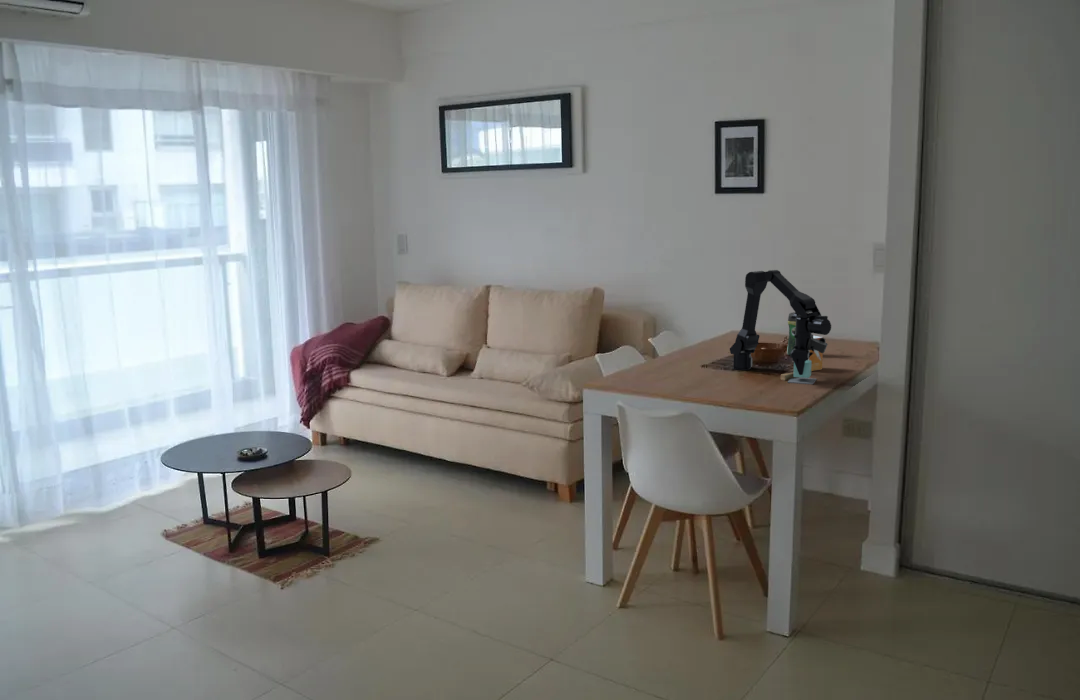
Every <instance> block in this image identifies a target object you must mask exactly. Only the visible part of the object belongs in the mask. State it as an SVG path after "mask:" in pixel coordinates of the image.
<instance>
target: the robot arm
mask: <svg viewBox="0 0 1080 700" xmlns="http://www.w3.org/2000/svg"><path fill="white" fill-rule="evenodd" d="M744 280H745V281H744V287H745V289H746V291H747V292H746V293H747V295H746V303H745V308H744V313H743V320H742V327H741V329H740V330H739V332H738V333H737V335H736V337H735V341H734V343H732V345H731V347H730V348H729V352H730V354H731V355H733V365H732V366H733V367H732V368H731V369H732V370H738V371H739V370H741V371H749V370H750V369H752V368H751V367H753V357H752V354H754V353H755V351H756V349H757V346H758V345H760V344H759V340H760V334H757V331H756V324H757V321H758V320H757V319H758V313H759V309H760V308H759V306H760V301H761V295H762V294H763V292H764V291H765V289H766V288H767V285H768V282H770V283H771V284H772V286H773V287H775V289H777V290H778V291H779V292H780V293H781V294H782V295H783V296H784V297H785V298H786V299H787V300H788V302H789V306H790V308H792V310H793V312H796V313H795V314H794V315H793V316H792V317H791V318H792V319H796V332H795V335H794V338H795V346H794V350H792V351H791V352H790V355H789V358H790V359H792V360H793V364H794V363H795V365H796V368H797V370H798V372H799V375H803V371H804V366H805V361H806V360H808V359H809V358H810V356H811V355H812V354H813V352H810V350H812V351H815V350H817V351H819V352H820V353H823V354H824V353H825V352H826V349H827V347H828V345H829V344H828V342H827V341H826V338H824V337H823V338H821V339H819V340H818V339H814V338H813V336H814V334H815V335H816V334H817V335H823V336H827V335H828V334H829V333H830V332H831V330H832V323H831V321H830V320H829V319H828V317H829V316H827V315H822V313H821V312H820V310H819V308H818V306H817V304H816V300H815V299H814V298H813V297H812V296H810V295H808V293H807V294H806V293H804V292H801V291H800V290H799V289H798V288H796V287H795V286H794V284H792V283H791V282H790V281H789V280H788V279H787V278H786V277H785V276H784V275H783V274H782V273H781V271H780V270H778V269H772V270H771V269H769V270H768V271H763V270H755V271H749V272H747V274H746V275H745V279H744Z"/></svg>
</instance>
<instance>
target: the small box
mask: <svg viewBox="0 0 1080 700" xmlns="http://www.w3.org/2000/svg"><path fill="white" fill-rule="evenodd" d="M813 338H814V339H818V340H819V339H821V338H824V336H817V335H813ZM810 352H813V354H812V355H811V356H810V358H809V359H808V360H811V361H812V362H811V372H813V371H819V370H820V371H821V370H822V369H823V357H824V356H823V354H824V353H820V352H819V351H817V350H815V351H812V350H810Z"/></svg>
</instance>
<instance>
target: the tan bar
mask: <svg viewBox="0 0 1080 700" xmlns="http://www.w3.org/2000/svg"><path fill="white" fill-rule="evenodd" d="M793 373H794V371H793V372H792V371H791V372H788V373H782V374H780V380H781V381H785V382H786V381H789V380H790V379H791V378H795V377H793Z"/></svg>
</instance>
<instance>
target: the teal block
mask: <svg viewBox="0 0 1080 700" xmlns="http://www.w3.org/2000/svg"><path fill="white" fill-rule="evenodd" d="M811 362H812V361H811V360H806V361H805V366H804V371H803V375H799V372H798V370H797V368H796V365H795V363H794V362H793V372H794V373H793V377H799V378H811V376H812V371H811Z"/></svg>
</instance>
